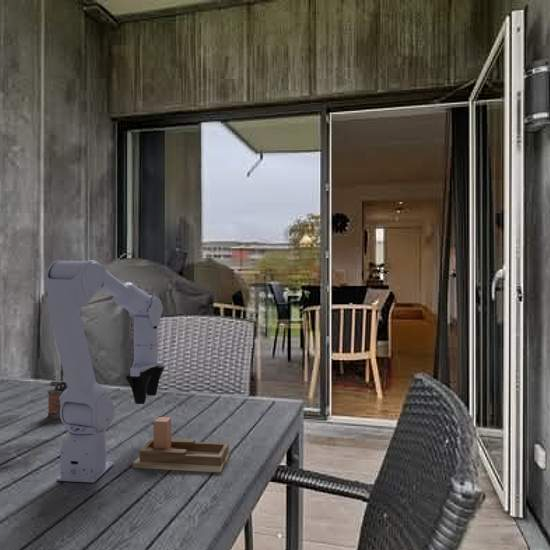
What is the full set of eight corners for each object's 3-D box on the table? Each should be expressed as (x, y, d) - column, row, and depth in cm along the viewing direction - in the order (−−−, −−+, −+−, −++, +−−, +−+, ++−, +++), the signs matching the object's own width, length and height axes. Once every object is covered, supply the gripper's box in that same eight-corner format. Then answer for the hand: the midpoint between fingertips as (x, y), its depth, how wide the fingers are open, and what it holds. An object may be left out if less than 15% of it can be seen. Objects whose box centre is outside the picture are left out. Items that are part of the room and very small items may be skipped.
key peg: (169, 460, 111) (169, 423, 111) (147, 459, 111) (147, 422, 111) (176, 451, 116) (176, 416, 116) (155, 450, 116) (155, 415, 116)
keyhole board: (220, 472, 107) (220, 456, 107) (132, 467, 109) (132, 451, 109) (230, 454, 117) (230, 439, 117) (149, 450, 119) (149, 435, 119)
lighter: (79, 414, 147) (79, 379, 146) (75, 417, 143) (74, 382, 143) (50, 414, 147) (50, 379, 146) (45, 418, 143) (45, 382, 143)
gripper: (151, 349, 118) (151, 408, 119) (171, 339, 133) (171, 392, 133) (121, 348, 119) (121, 407, 119) (144, 339, 133) (144, 391, 134)
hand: (145, 399), depth 126 cm, fingers open, 7 cm apart
